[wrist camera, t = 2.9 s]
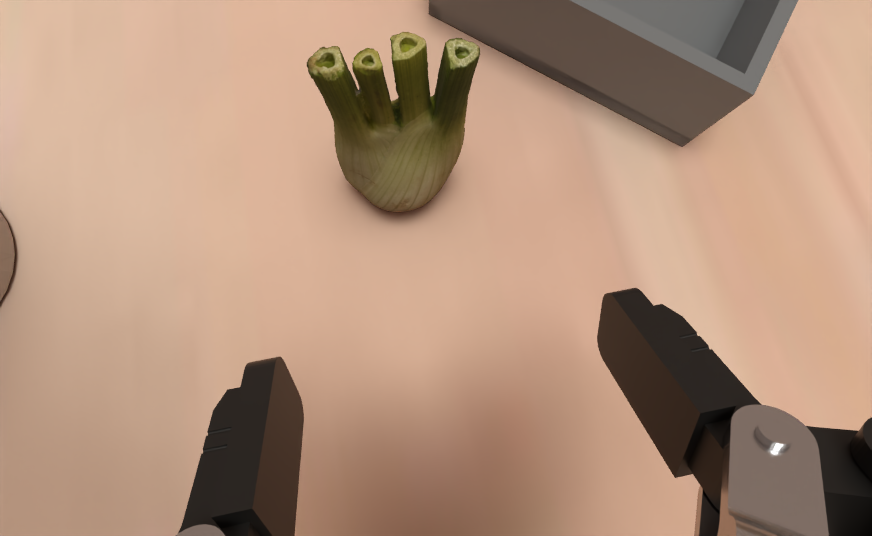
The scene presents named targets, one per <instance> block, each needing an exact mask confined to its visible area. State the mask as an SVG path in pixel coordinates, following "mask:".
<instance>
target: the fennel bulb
mask: <svg viewBox="0 0 872 536" xmlns="http://www.w3.org/2000/svg"><path fill="white" fill-rule="evenodd" d="M390 40H391V47H392V64H393V69H394V76H395V83H396V91H397V93H398V96H399V98H398V99H396V100H394V101H391V100H390V95H389V91H388V88H387V84H386V80H385V77H384V72H383V66H382V62H381V60H380V57H379V54H378V52H377V51H375V50H374V49H369V48H366V49H364V50H363V51H360V52H359V53H358V54H357V55H356V56H355V57H354V61H353V63H352V64H353V65H352V66H353V72H354V74H355V77H356V79H357V81H358V85H359V90H358V89H357V87H356V84H355V81H354V79H353V77H352V75H351V73H350V71H349V70H348V67H347V64H346V62H345V60H344V57H343V55H342V53H341V51H340V48H339V47H338V46H332V47H330V48H325V47H322V48H320V49H319V50H318V51H317V52H315V53H314V54H313V56H311V57H310V58H309V59H308V62H307V67H308V72H309V74H310V76H311V78H313V80H314V82H315V84H316V86H317V87H318V89H319V90H320V92H321V94H322V96H323V98H324V100H325V103H326V105H327V106H328V109H329V111H330V113H331V115H332V118H333V121H334V132H335V147H336V153H337V157H338V160H339V163H340V166H341V169H342V171H343V174H344V175H345V178H346V179H347V181H348V182H349V183H350V184H351V185H352V186H353V187H354V188H356V189H357V190H358V191H360V192H361V193H362V194H363V195H364V196H365V197H366V198H367V199H368V200H369V201H370V202H371V203H372V204H374V205H375V206H377V207H379V208H381V209H383V210H386V211H392V212H404V211H410V210H414V209H417V208H419V207H422V206H423V205H425V204H426V203H428V202H429V201H430V200H431V199H432V198H433V197H434V196H435V195H436V194H437V193H438V192H439V190H440V189H441V188H442V186H443V184H444V183H445V181H446V180H447V178H448V176H449V175H450V173H451V171H452V169H453V167H454V166H455V164H456V162H457V159H458V157H459V154H460V152H461V148H462V145H463V140H464V132H465V128H464V124H465V117H466V108H467V100H468V94H469V90H470V87H471V83H472V78H473V75H474V72H475V68H476V66H477V63H478V59H479V55H480V48H479V46H477V45H476V44H475V43H473V42H467V41H466V40H463V39H462V38H455V39H449V40H448V41H447V42H446V43H445V47H444V51H443V55H442V59H441V64H440V68H439V73H438V79H437V85H436V89H435V94H434V95H433V96H431V97H430V90H429V80H428V69H427V68H428V62H427V47H426V41H425V40H424V39H423V38H421V37H419V36H417V35H416V34H412V33H409V32H402V33H400V34H397V35H393V36H392V37H391V38H390Z"/></svg>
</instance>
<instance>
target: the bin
mask: <svg viewBox="0 0 872 536" xmlns="http://www.w3.org/2000/svg"><path fill="white" fill-rule="evenodd" d="M797 2H798V0H429V14H430V15H432V16H434V17H436V18H438V19H439V20H441V21H443V22H445V23H447V24H449V25H451V26H453V27H455V28H457V29H459V30H460V31H462V32H464V33H466V34H468V35H470V36H472V37H474V38H476V39H478V40H480V41H481V42H483V43H485V44H487V45H489V46H491V47H493V48H495V49H497V50H499V51H501V52H502V53H504V54H506V55H508V56H510V57H512V58H514V59H516V60H518V61H520V62H522V63H523V64H525V65H527V66H529V67H531V68H533V69H535V70H537V71H539V72H541V73H543V74H544V75H546V76H548V77H550V78H552V79H554V80H556V81H558V82H560V83H562V84H564V85H565V86H567V87H569V88H571V89H573V90H575V91H577V92H579V93H581V94H583V95H585V96H586V97H588V98H590V99H592V100H594V101H596V102H598V103H600V104H602V105H604V106H605V107H607V108H609V109H611V110H613V111H615V112H617V113H619V114H621V115H623V116H625V117H626V118H628V119H630V120H632V121H634V122H636V123H638V124H640V125H642V126H644V127H646V128H647V129H649V130H651V131H653V132H655V133H657V134H659V135H661V136H663V137H665V138H667V139H668V140H670V141H672V142H674V143H676V144H678V145H680V146H682V147H683V146H684V145H685V144H687V143H688V142H690V141H691V140H692V139H694V138H695V137H696V136H698V135H699V134H701V133H702V132H703V131H705V130H706V129H708V128H709V127H710V126H712V125H713V124H714V123H716V122H717V121H719V120H720V119H721V118H723V117H724V116H725V115H727V114H728V113H730V112H731V111H732V110H734V109H735V108H737V107H738V106H739V105H741V104H742V103H743V102H745V101H746V100H748V99H749V98H750V97H752V96H753V95H754V93H755V91H756V89H757V87H758V85H759V83H760V80H761V78H762V76H763V74H764V72H765V70H766V68H767V66H768V63H769V61H770V59H771V57H772V55H773V53H774V51H775V48H776V46H777V44H778V42H779V40H780V38H781V36H782V34H783V31H784V29H785V27H786V25H787V23H788V21H789V19H790V16H791V14H792V12H793V10H794V8H795V6H796V4H797Z"/></svg>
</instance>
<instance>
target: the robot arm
mask: <svg viewBox="0 0 872 536" xmlns="http://www.w3.org/2000/svg"><path fill="white" fill-rule="evenodd" d="M14 258H15V252H14V243H13V237H12V234H11V231H10V229H9V226H8V223H7V221H6V220H5V218H4V217H3V215H2V214H1V212H0V301H1V299H2V297H3V296H4V294H5V292H6V291H7V288H8V285H9V282H10V279H11V276H12V273H13V267H14ZM597 341H598V347H599V351H600V354H601V356H602V359H603V361H604V362H605V364H606V366H607V367H608V369H609V370H610V372H611V374H612V375H613V377H614V379H615V380H616V382H617V384H618V385H619V387H620V388H621V390H622V392H623V393H624V395H625V397H626V398H627V400H628V402H629V403H630V405H631V407H632V408H633V410H634V411H635V413H636V415H637V416H638V418H639V420H640V421H641V423H642V425H643V426H644V428H645V429H646V431H647V433H648V434H649V436H650V438H651V439H652V441H653V443H654V444H655V446H656V447H657V449H658V451H659V452H660V454H661V456H662V457H663V459H664V461H665V462H666V464H667V465H668V467H669V469H670V470H671V472H672V474H673V475H674V477H675V478H677V477H681V476H685V475H690V474H693V475H694V476H695V478H696V479H697V481H698V482H699V484H700V487H699V491H698V499H697V510H696V521H695V533H694V536H872V418H870V419H868V420H867V421H866V422H865V423H864V425H863V426H862V427H861V429H860V430H859V431H854V430H842V429H830V428H819V427H810V426H805V425H804V424H803V423H802V422H800V421H799V420H798V419H796V418H795V417H793V416H792V415H790V414H788V413H786V412H784V411H782V410H780V409H777V408H774V407H770V406H766V405H761V404H760V403H759V402H758V401H757V400H756V399H755V398H754V397H753V395H752V394H751V393H750V392H749V391H748V390H747V389H746V388H745V386H744V385H743V384H742V383H741V382H740V381H739V380H738V379H737V377H736V376H735V375H734V374H733V373H732V372H731V371H730V370H729V368H728V367H727V366H726V365H725V364H724V363H723V362H722V360H721V359H720V358H719V357H718V356H717V355H716V354H715V353H714V351H713V350H712V349H711V350H710V349H709V346H708V345H707V344H706V342H705V341H704V340H703V339H702V338H701V337H700V336H697V332H696V331H695V330H694V329H693V328H692V327H691V326H690V324H689V323H688V322H687V321H686V320H685V319H684V318H683V317H682V316H681V315H679V314H678V313H676V312H674V311H673V310H671V309H669V308H668V307H666V306H664V305H663V304H660V305H655V306H653V305H652V303H651V302H650V301H649V300H648V299H647V297H646V296H645V295H644V294H643V293H642V292H641V291H640V290H639V289H637V288H632V289H627V290H622V291H617V292H612V293H607V294H605V295H604V297H603V301H602V307H601V314H600V321H599V328H598V336H597ZM303 422H304V414H303V405H302V401H301V397H300V395H299V392H298V390H297V388H296V386H295V384H294V382H293V379H292V377H291V375H290V373H289V371H288V369H287V366H286V364H285V362H284V360H283V359H282V358H281V357H276V358H271V359H265V360H260V361H255V362H250V363H248V364H247V365H246V367H245V370H244V374H243V378H242V383H241V387H239V388H234V389H229V390H227V391H226V393H225V394H224V396H223V397H222V399H221V400H220V401H219V403H218V404H217V406H216V407H215V409H214V410H213V414H212V417H211V421H210V425H209V428H208V436H206V439H205V443H204V447H203V454H201V458H200V461H199V465H198V468H197V472H196V476H195V479H194V483H193V487H192V490H191V494H190V498H189V501H188V505H187V509H186V512H185V516H184V520H183V523H182V526H181V528H180V531H179V533H178V534H177V535H176V536H294V533H295V520H296V508H297V496H298V484H299V471H300V459H301V447H302V435H303Z"/></svg>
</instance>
